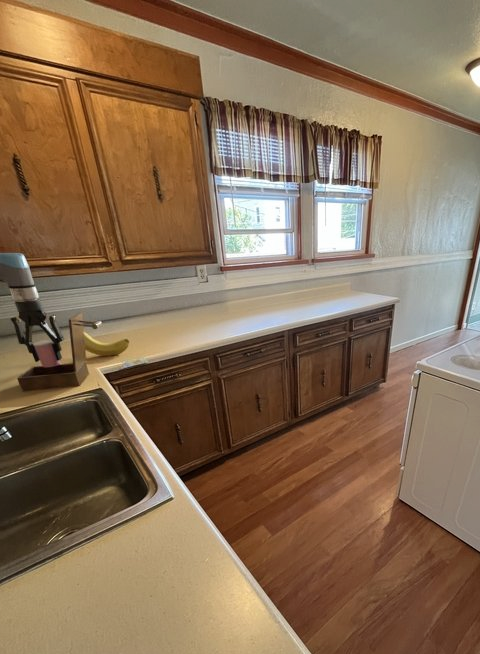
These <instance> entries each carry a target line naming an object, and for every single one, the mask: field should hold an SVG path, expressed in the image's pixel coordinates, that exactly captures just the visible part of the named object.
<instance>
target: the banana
mask: <svg viewBox="0 0 480 654" xmlns="http://www.w3.org/2000/svg"><path fill="white" fill-rule="evenodd" d="M84 340H85V351H87V352H89V353H91V354H93V355H96V356H100V357H101V356H103V357H105V356H106V357H109V356H116V355H119V354H122V353H123V352H126V350H127V349H128V348H129V346H130V340H129V339H128V338H124V339H120V340H118V341H115V342H100V341H98V340H96V339H94V338H93V337H91V336H90V335H89V334H88V333H86V332H85V331H84Z"/></svg>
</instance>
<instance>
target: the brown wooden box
mask: <svg viewBox="0 0 480 654" xmlns="http://www.w3.org/2000/svg"><path fill="white" fill-rule="evenodd" d="M86 362H87V361H86ZM86 362H85V363H84V364H83V365H82V366H81V367H80V368H79V369H78V371H77V372H74V368H73V362H71V363H60V364H59V365H57V366H53V367H43V366H42V365H37V366H31V367H29V368H28V369H27V370H26V371H25V372H23V373H22V374H20V375H19V376H18V377H16V379H17V382H18V384H19V386H20V389H21V391H22V392H32V391H33V392H34V391H42V390H43V391H44V390H54V389H64V388H65V389H66V388H74V387H81V386H82V384H83V383H84V381H86V379H87V378H88V377H89V376H90V371H89V369H88V366H87V363H86Z"/></svg>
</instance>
